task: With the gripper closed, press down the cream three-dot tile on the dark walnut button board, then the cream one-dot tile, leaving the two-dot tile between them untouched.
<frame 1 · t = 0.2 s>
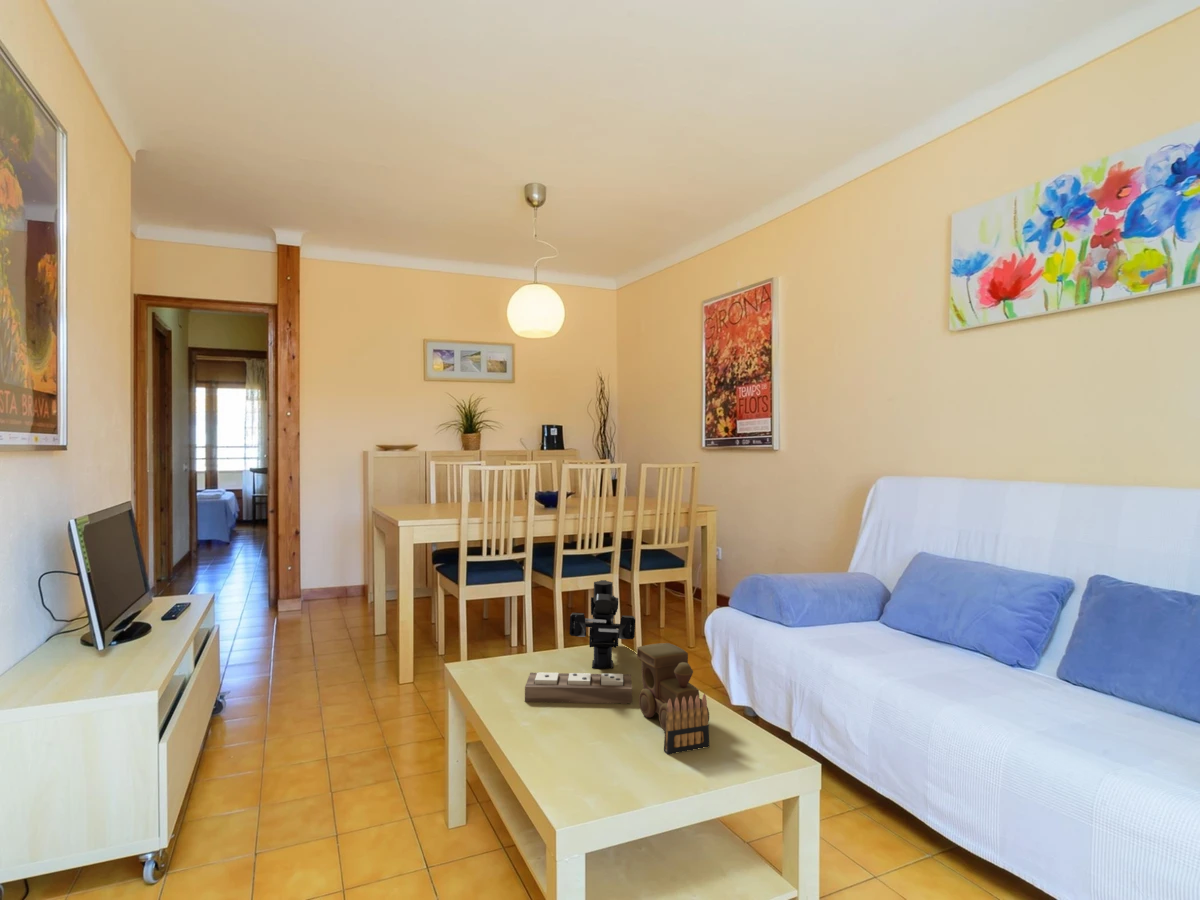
hand: (601, 635, 177), 17 cm above the table, tool horizontal, fingers open, 9 cm apart
ammunition clip: (686, 750, 146), on the table
three dot tile: (612, 681, 177), point 4 cm above the table, slide at 0.0 cm
two dot tile: (579, 681, 177), point 4 cm above the table, slide at 0.0 cm
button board: (579, 695, 177), on the table
wooden toy train: (671, 722, 161), on the table
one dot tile: (546, 680, 177), point 4 cm above the table, slide at 0.0 cm
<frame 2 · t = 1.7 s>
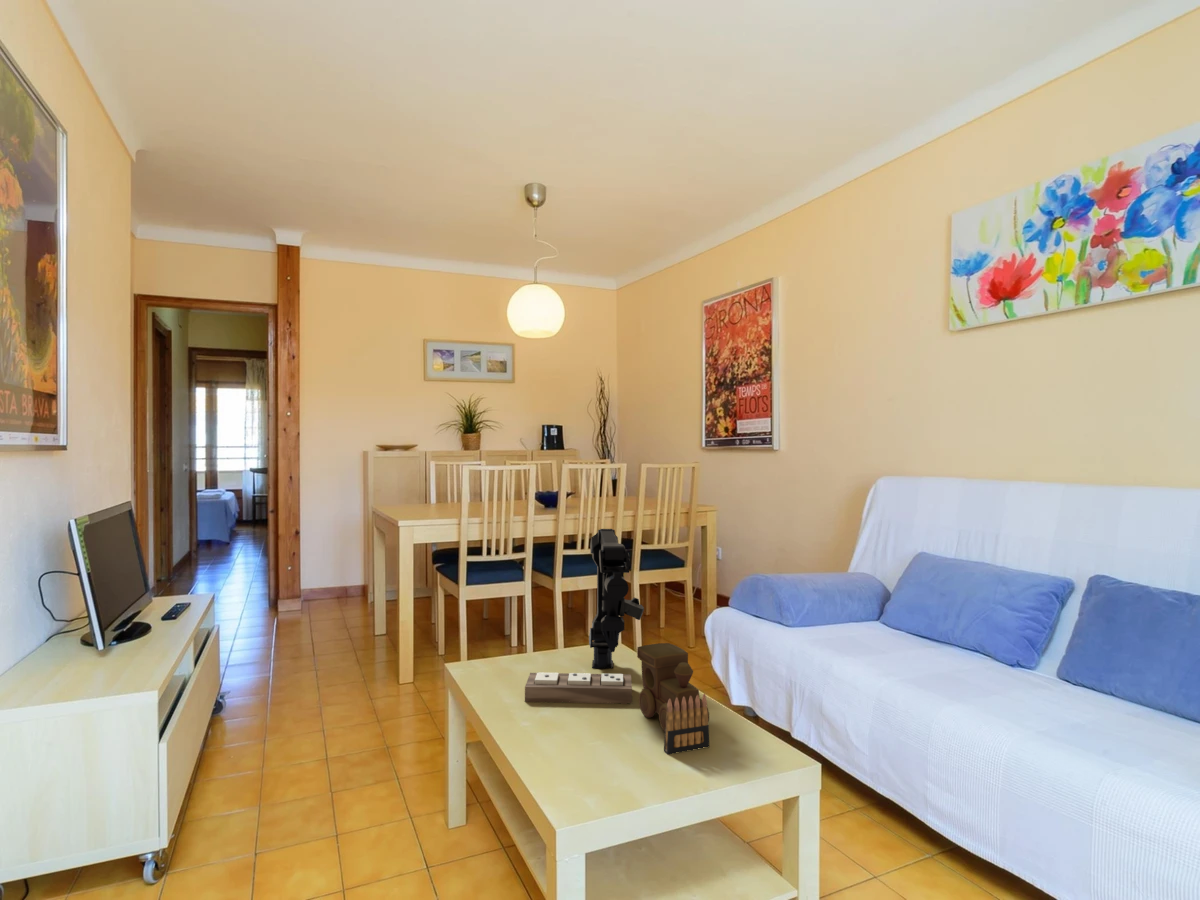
hand: (612, 648, 177), 13 cm above the table, tool pointing down, fingers open, 6 cm apart
nothing on the table moved.
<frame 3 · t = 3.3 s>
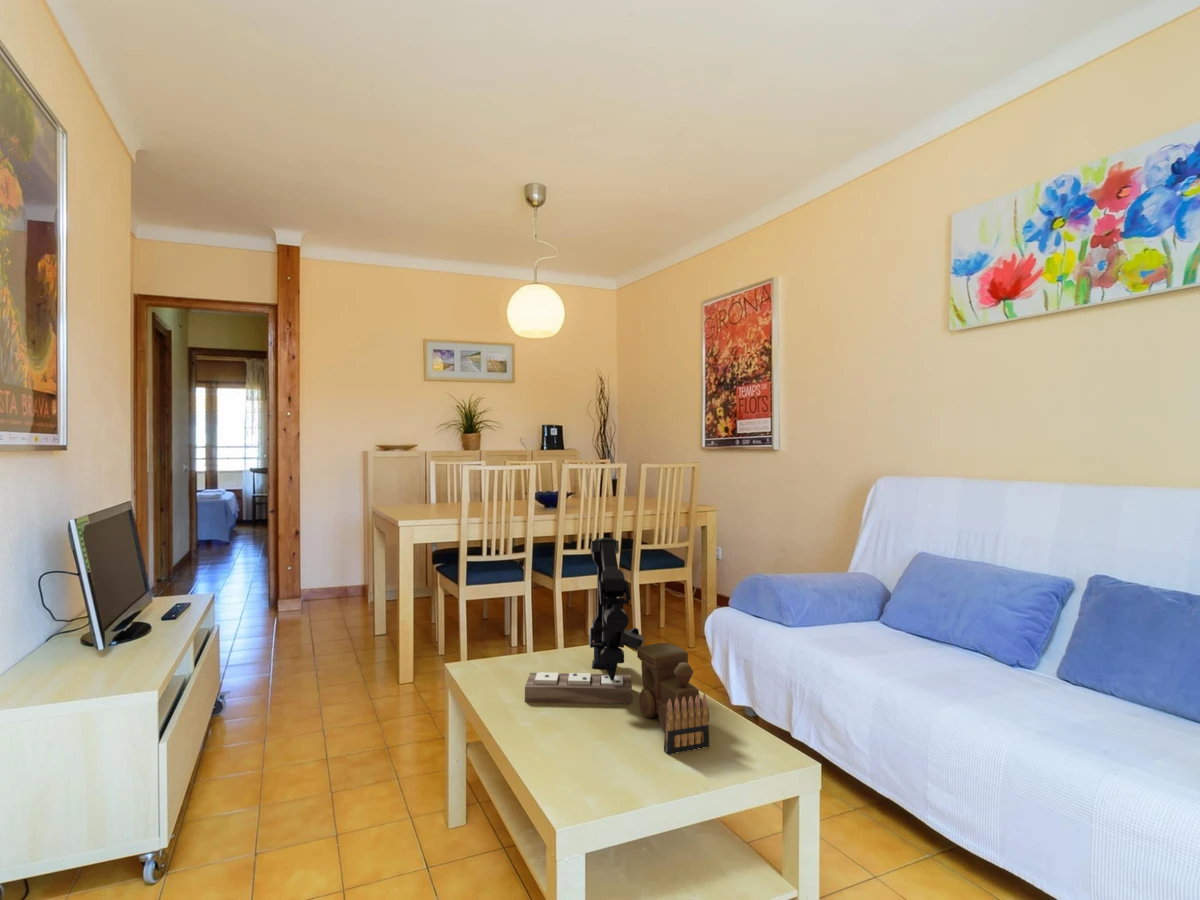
hand: (612, 678, 177), 5 cm above the table, tool pointing down, fingers closed, pressing on three dot tile
three dot tile: (612, 683, 177), point 3 cm above the table, slide at 0.6 cm, touching gripper
everything else where it was.
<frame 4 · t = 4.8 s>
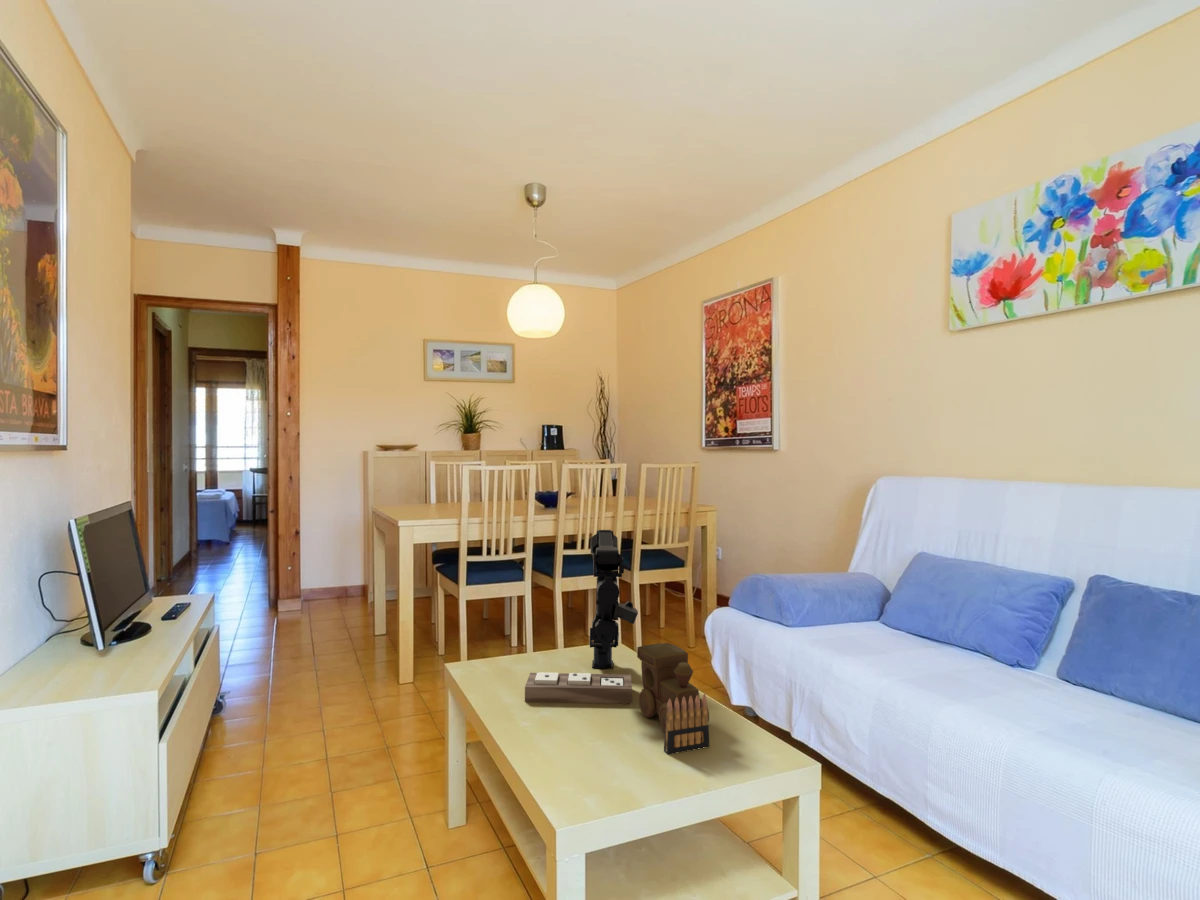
hand: (606, 652, 177), 12 cm above the table, tool pointing down, fingers closed
three dot tile: (612, 686, 177), point 3 cm above the table, slide at 1.2 cm
everything else where it was.
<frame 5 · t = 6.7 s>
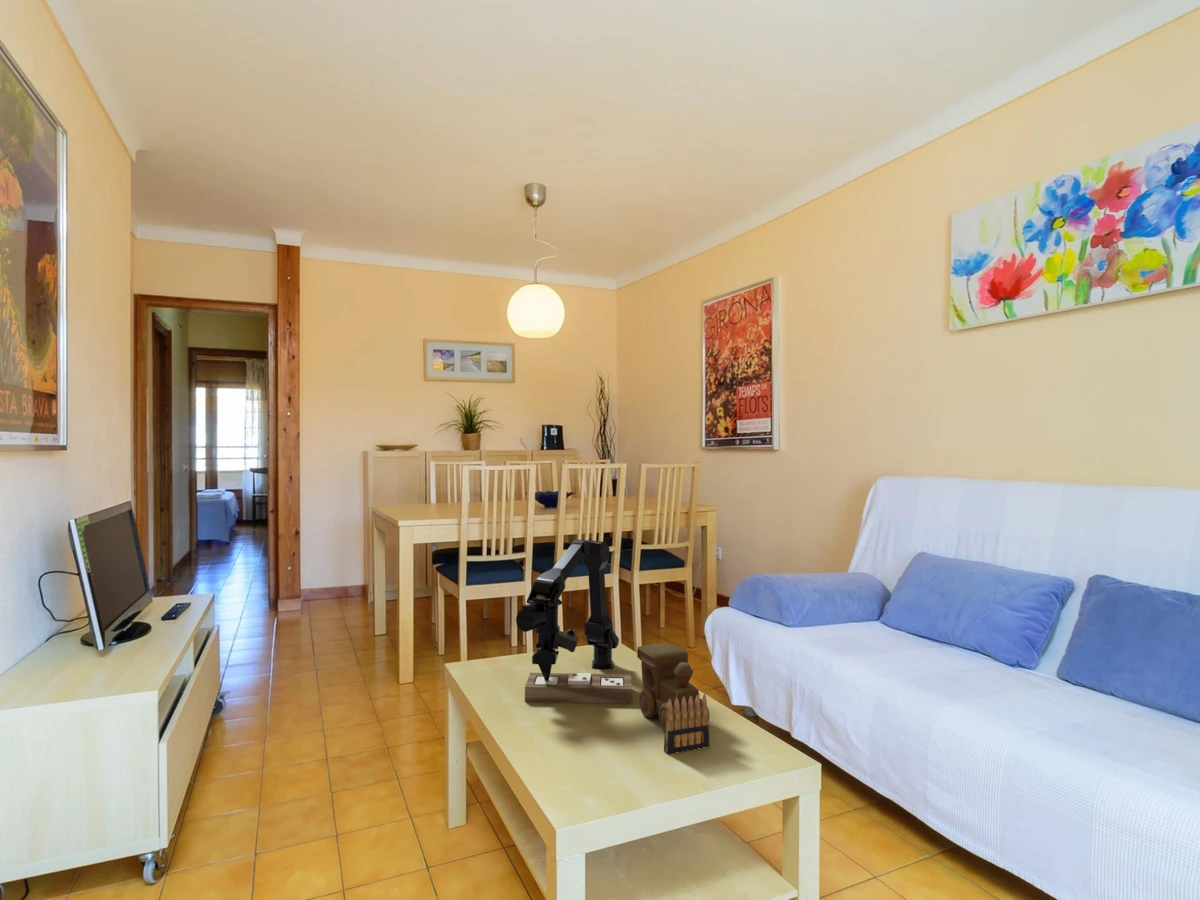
hand: (547, 679, 177), 4 cm above the table, tool pointing down, fingers closed, pressing on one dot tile
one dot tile: (546, 684, 177), point 3 cm above the table, slide at 1.2 cm, touching gripper
everything else where it was.
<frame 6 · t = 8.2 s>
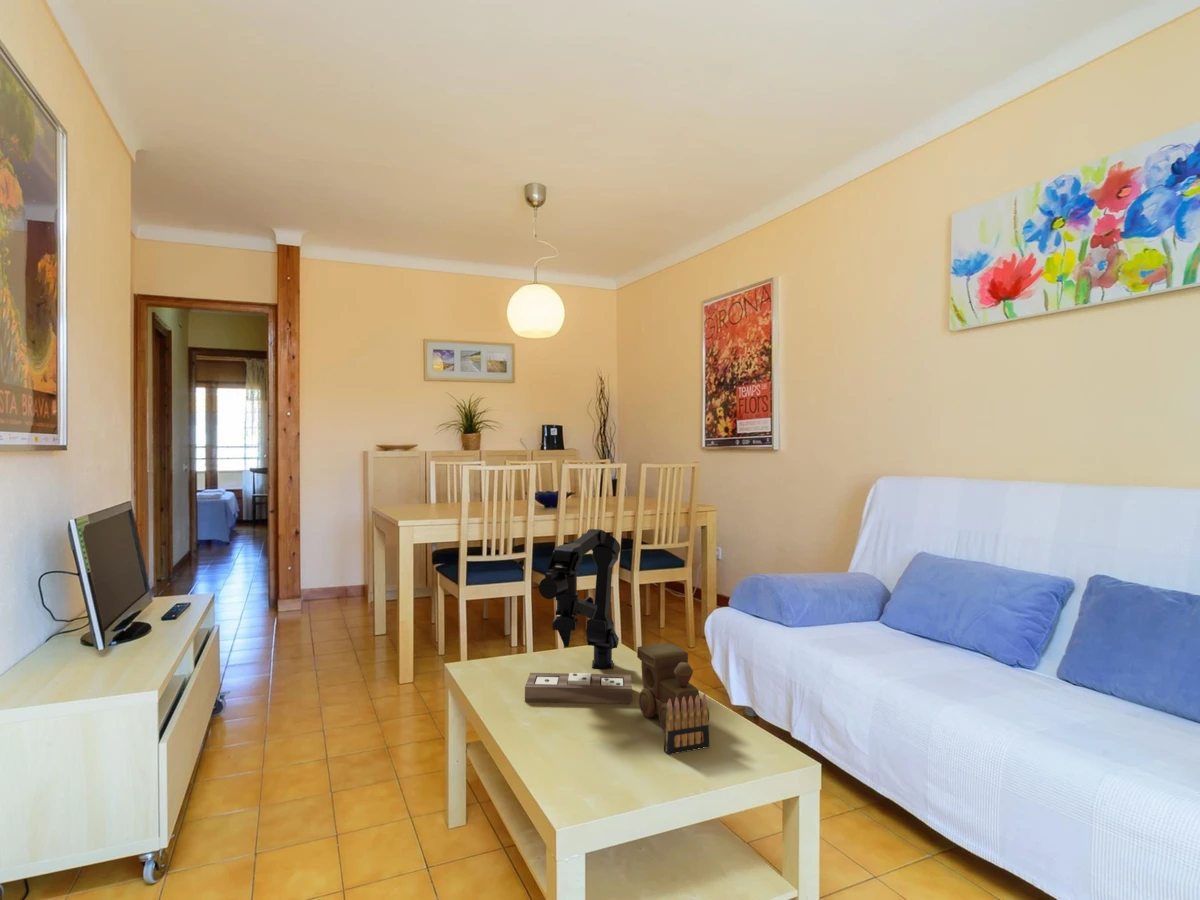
hand: (566, 646, 182), 12 cm above the table, tool pointing down, fingers closed
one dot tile: (546, 685, 177), point 3 cm above the table, slide at 1.2 cm
everything else where it was.
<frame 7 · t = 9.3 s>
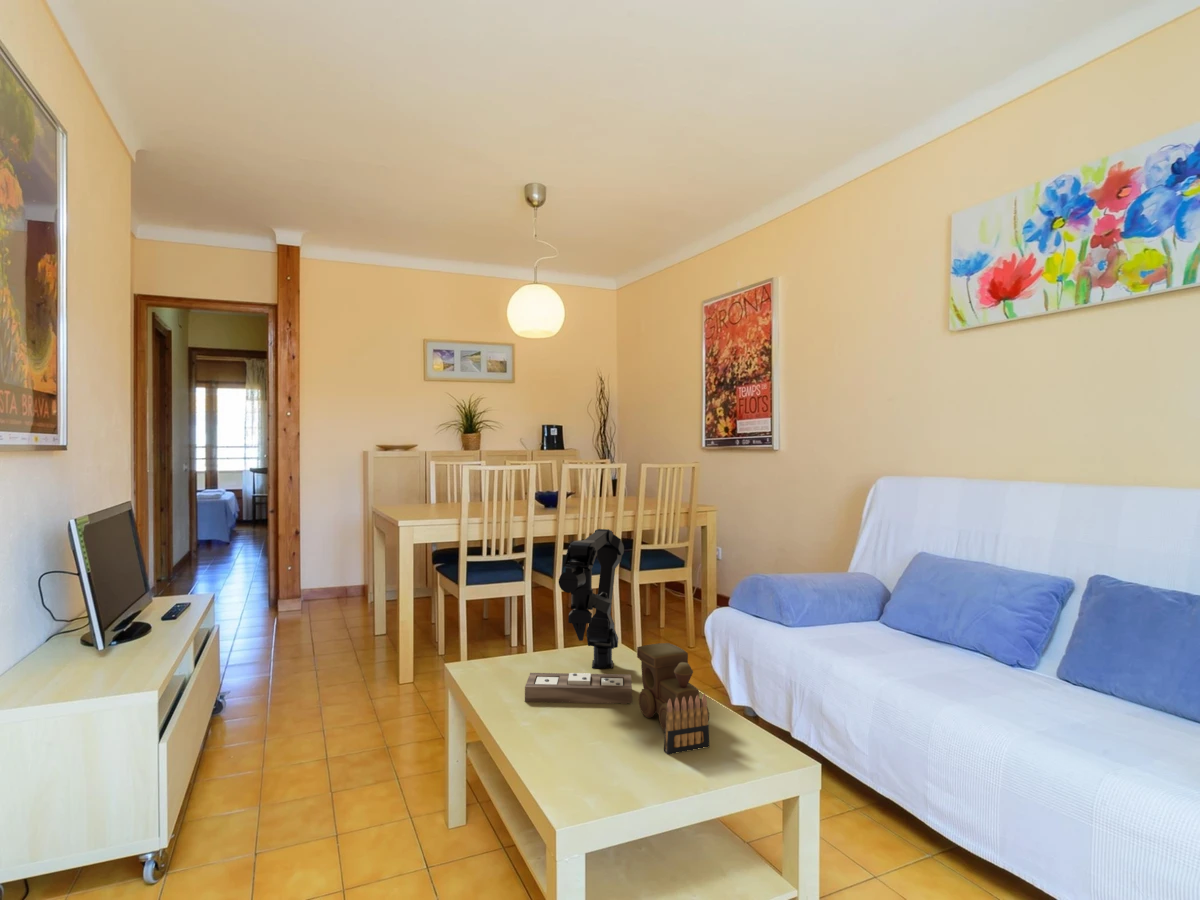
hand: (581, 640, 184), 13 cm above the table, tool pointing down, fingers closed
nothing on the table moved.
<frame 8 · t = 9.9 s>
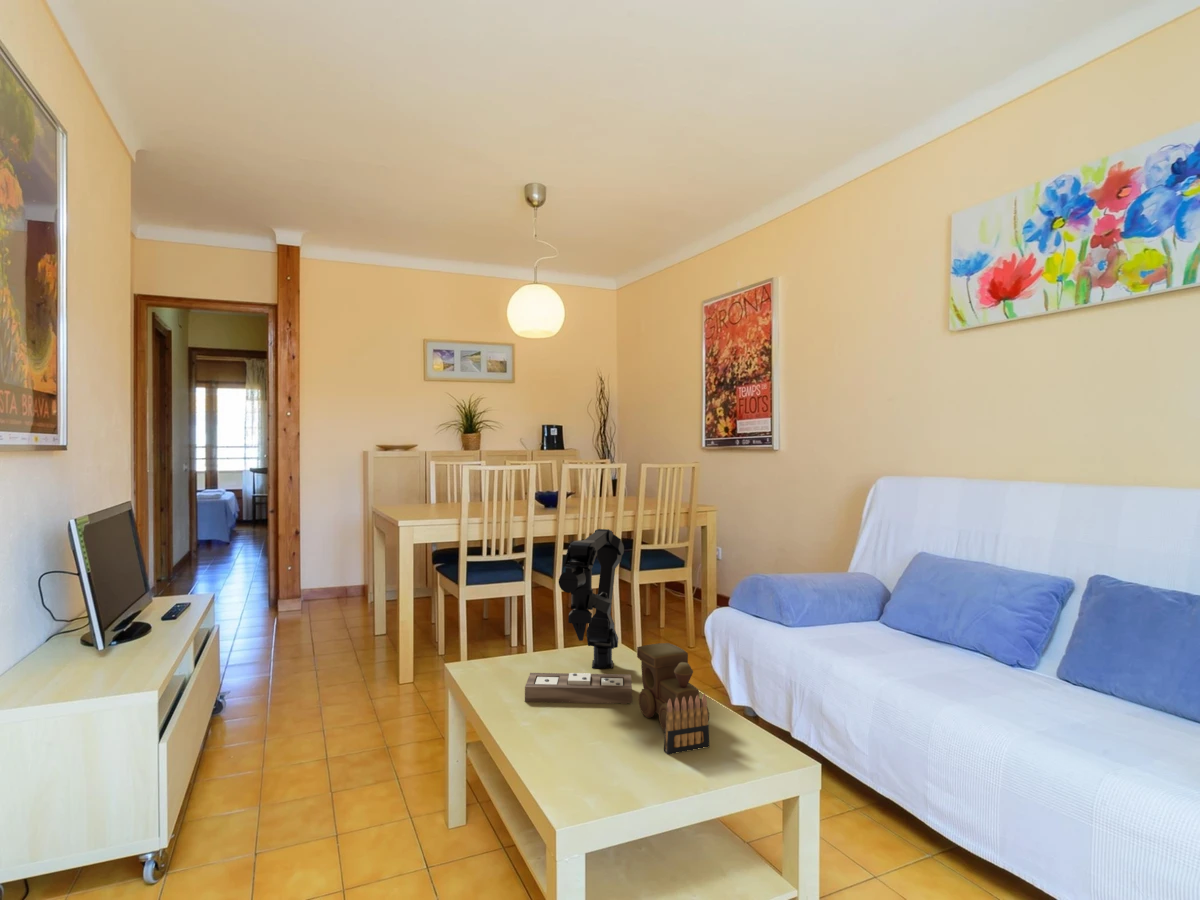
hand: (581, 640, 184), 13 cm above the table, tool pointing down, fingers closed
nothing on the table moved.
at the end: three dot tile slide at 1.2 cm; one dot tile slide at 1.2 cm; two dot tile slide at 0.0 cm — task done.
